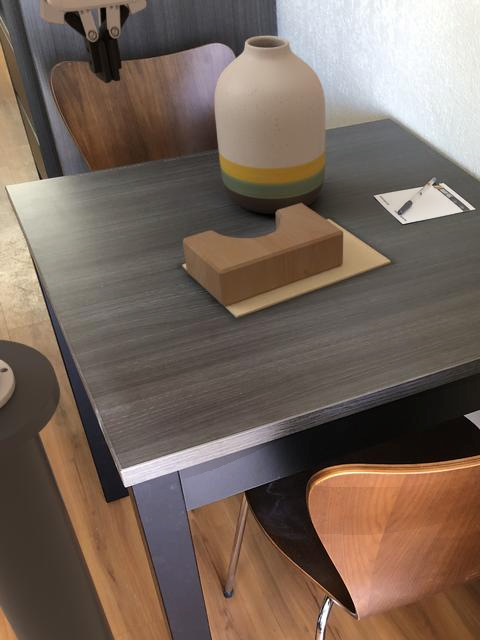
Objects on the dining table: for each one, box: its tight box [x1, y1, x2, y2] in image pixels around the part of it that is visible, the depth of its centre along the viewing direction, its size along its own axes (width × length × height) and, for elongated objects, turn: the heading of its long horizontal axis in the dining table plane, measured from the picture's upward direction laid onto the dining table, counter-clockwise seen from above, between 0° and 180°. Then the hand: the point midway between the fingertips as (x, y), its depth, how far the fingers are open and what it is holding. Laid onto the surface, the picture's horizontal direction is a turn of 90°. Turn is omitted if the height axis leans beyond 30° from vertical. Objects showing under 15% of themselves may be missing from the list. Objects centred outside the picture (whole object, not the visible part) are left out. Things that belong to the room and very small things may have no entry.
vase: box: [213, 35, 326, 215], centre depth 114 cm, size 17×17×24 cm
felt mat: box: [181, 218, 391, 319], centre depth 107 cm, size 26×16×1 cm, turn 125°
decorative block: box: [182, 203, 343, 307], centre depth 103 cm, size 11×6×20 cm
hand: (107, 78), depth 78 cm, fingers closed
